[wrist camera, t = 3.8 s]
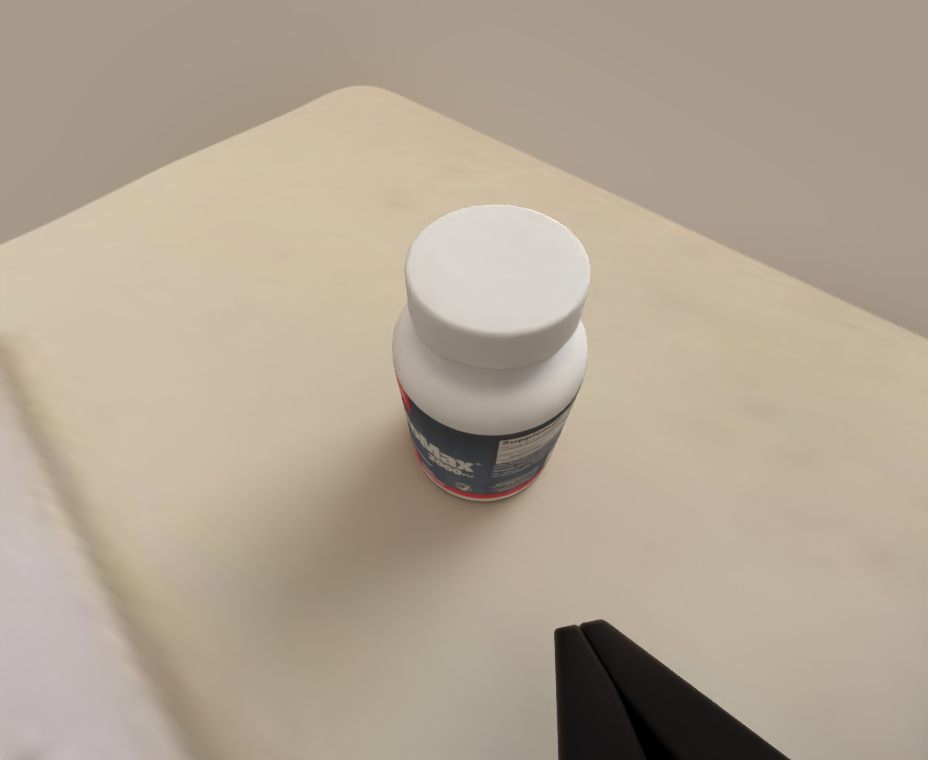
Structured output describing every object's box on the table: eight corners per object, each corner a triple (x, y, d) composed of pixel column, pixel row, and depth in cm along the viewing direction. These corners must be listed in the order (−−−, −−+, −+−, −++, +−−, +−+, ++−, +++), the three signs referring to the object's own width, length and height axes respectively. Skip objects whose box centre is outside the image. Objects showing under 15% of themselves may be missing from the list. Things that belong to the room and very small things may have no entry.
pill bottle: (388, 420, 17) (329, 236, 10) (495, 359, 19) (515, 160, 11) (464, 535, 15) (464, 410, 7) (579, 454, 16) (675, 283, 9)
